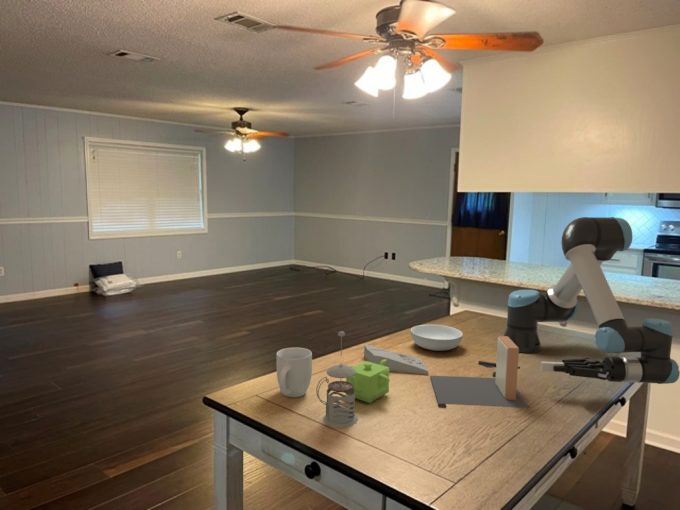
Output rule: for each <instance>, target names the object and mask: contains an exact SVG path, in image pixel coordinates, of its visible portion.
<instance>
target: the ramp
mask: <svg viewBox="0 0 680 510" xmlns="http://www.w3.org/2000/svg"><path fill="white" fill-rule="evenodd" d="M363 351H364V352H363V357H364V359H365V358H366V359H367V360H368V362H371V363H375V364H380V362H381V361H382V360H384V359H386V362H385V364H384V366H386V367H389V372H398V373H406V374H407V373H408V374H415V375H416V374H417V375H426V376H427V375H428V376H429V370H428V368H427V366H426V365H425V363H424V361H423V360H422V359H421V358H419V357H416V356H413V355H410V354H409V355H408V354H405V353H399V352H396V351H391V350H386V349H384V348H381V347H378V346H374V345H369V344H364V347H363ZM366 359H365V360H366ZM367 360H366V361H367Z"/></svg>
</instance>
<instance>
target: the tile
mask: <svg viewBox="0 0 680 510" xmlns="http://www.w3.org/2000/svg"><path fill="white" fill-rule="evenodd" d="M519 353H520V352H519V348H518V347H517V346H516V345H515V344H514V342H513V341H512V340H511V339H510V338H509V337H508V336H503V335H502V336H501V335H498V337H497V346H496V362H495V363H496V367H495V372H496V377H495V378H496V379H495V383H496V385H497V387H498V388H499V390H500V391H501V393H502V395H503V396H504V398H505V399H509V400H516V389H517V385H518V372H519V371H518V367H519Z"/></svg>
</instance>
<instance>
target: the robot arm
mask: <svg viewBox="0 0 680 510" xmlns="http://www.w3.org/2000/svg"><path fill="white" fill-rule="evenodd" d="M561 235H562V236H561V243H560V244H561V249H562V252H563V255H564V258H565V260H567V261H569V262H570V264H569V265H568V267H567V268H566V269H565V271H564V273H563V274H562V276H561V277H560V279H559V280H558V281H557V283H556V284H553V285H550V286H549V288H548V289H547V291H546V292H545V293H540V292H539V291H538V290H535V289H518V290H514V291H512V292H511V293H510V294H509V295H508V301H507V315H506V316H507V317H506V318H507V319H506V328H505V330H504V333H503V335H502V336H508V337H509V338H510V339H511V340H512V341H513V342H514V344H515V345H516V346H517V347H518V348H519V353H522V354H523V353H524V354H525V353H526V354H529V353H531V354H532V353H533V354H534V353H537V352H540V351H541V350H542V349H541V347H542V343H541V340H540V337H539V333H538V324H539V323H563V322H564V323H565V322H569V321H571V320H573V319H574V318H575V317H576V315H577V313H578V311H579V310H578V309H579V303H578V298H577V297H578V295H579V294H580V293H581V291H583V294H584V297H585V298H586V301H587V303H588V306H589V307H590V310H591V312H592V314H593V317H594V319H595V321H596V324H597V327H598V328H597V330H596V331H595V333H594V339H595V345H596V347H597V348H598V349H599V351H601V352H602V353H606V354H623V353H625V354H626V353H640V357H638V356H637V357H636V356H606V357H604V359H603V361H600V360H596V359H594V360H590V359H591V358H589V357H583V358H571V359H570V358H569V359H561V361H540V368H539V369H540V371H541V372H543V373H545V372H546V373H564V374H569V376H572V377H578V378H579V377H580V378H587V379H589V378H590V379H598V380H602V381H608V382H611V383H612V382H613V383H614V382H615V383H622V382H624V383H628V384H629V385H630V384H632V383H637V384H638V383H639V384H641V383H645V384H658V385H666V384H667V385H668V384H674V383H676V382H678V380H679V378H680V370H679V364H678V363H677V361H676V360H675V359H673V358H671V352H672V345H673V344H672V343H673V337H674V336H673V335H674V333H673V332H674V329H673V327H674V326H673V324H672V323H671V321H669V320H666V319H662V318H656V317H655V318H653V317H649V318H645V319H644V320H643V323H642V326H629V325H628V323H627V321H626V319H625V318H624V315H623V313H622V311H621V309H620V308H621V307H619V304H618V302H617V300H616V298H615V295H614V293H613V292H612V289H611V286H610V285H609V282H608V280H607V278H606V276H605V274H604V271H603V269H602V267H601V265H602V264H603V262H608V261H610V260H611V259H613V257H614V255H615V254H616V253H617V252H624V251H627V250H628V249H629V248H630V247H631V245H632V242H633V230H632V227H631V224H629V222H628V221H627V220H626V219H625V218H622V217H614V216H610V217H607V216H606V217H602V216H601V217H598V216H596V217H590V216H589V217H587V216H585V217H583V216H582V217H578V218H575V219H574V220H572V221H570V222H569V223H568V224H567V225H566V227H565V229H564V230H563V232H562V234H561Z"/></svg>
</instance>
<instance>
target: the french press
mask: <svg viewBox="0 0 680 510" xmlns="http://www.w3.org/2000/svg"><path fill="white" fill-rule="evenodd" d="M337 336H338V337H340V355H342V352H343V351H342V348H343V347H342V346H343V344H342V341H343V337H345V336H346V333H345V331H341V330H340V331H339V332H338V333H337ZM325 371H326V375H327V376H329V377H330V378H335V379H340V380H336V381H335V380H334V381H331V382H330V381H329V378H328V377H327V376H324V377H323V378H321V379H320V380H318V383H317V385H316V396H317V399H318V400H319V402H321V403H322V404H323V405H325V415H324V416H323V418H322V422H323V423H324V424H325V425H327V426H330V427H332V428H336V429H337V428H339V429H340V428H341V429H343V428H344V429H345V428H349V427H353V426H355V425H356V424H357V423H358V422H357V421H359V419H358V416H357V415H356V414H355V405H356V402H355V400H356V399H355V390H354V389H353V388H354V385H353V384H352V383H350V382H347V381H346V380H342V379H346V378H348V377H352V376H354V375H355V373H356V371H355V370H354V369H353V368H352V367H349V365H346V364H337V365H333V366H331V367H329V368H328V369H326V370H325ZM324 382H326V383H327V387H328V388H327V389H326V401H325V400H322V399H321V398H320V396H319V395H320V394H319V393H320V388H321V387H322V385H323V383H324ZM346 394H350V396H348V395H346ZM337 395H338V396H337ZM343 406H344V407H343ZM354 424H355V425H354Z"/></svg>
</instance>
